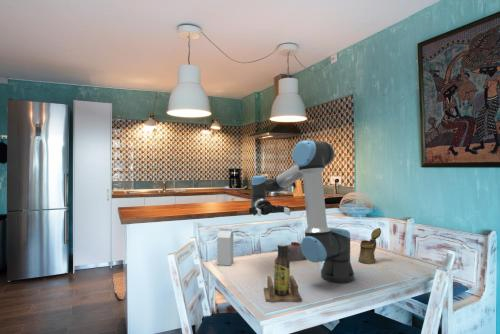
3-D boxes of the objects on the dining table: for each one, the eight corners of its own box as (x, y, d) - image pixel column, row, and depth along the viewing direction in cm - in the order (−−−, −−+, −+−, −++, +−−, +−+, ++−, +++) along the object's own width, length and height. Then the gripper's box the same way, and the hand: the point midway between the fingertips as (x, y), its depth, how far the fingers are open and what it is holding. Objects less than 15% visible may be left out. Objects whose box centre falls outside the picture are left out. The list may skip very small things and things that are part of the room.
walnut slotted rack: (296, 289, 137) (296, 275, 137) (301, 301, 125) (301, 285, 125) (263, 290, 137) (263, 275, 137) (266, 301, 125) (266, 286, 125)
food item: (300, 256, 189) (300, 239, 189) (309, 259, 182) (309, 242, 182) (281, 259, 182) (281, 242, 182) (289, 263, 175) (289, 245, 175)
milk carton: (230, 266, 170) (230, 230, 170) (217, 265, 171) (217, 229, 171) (233, 262, 177) (233, 227, 177) (221, 261, 178) (220, 227, 178)
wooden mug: (385, 262, 176) (385, 229, 176) (365, 264, 171) (365, 231, 171) (374, 257, 184) (374, 226, 184) (354, 260, 179) (354, 228, 179)
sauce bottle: (270, 293, 131) (270, 244, 131) (280, 288, 135) (280, 241, 135) (283, 297, 126) (283, 246, 126) (292, 292, 131) (292, 244, 131)
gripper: (286, 213, 167) (301, 219, 146) (239, 214, 162) (247, 222, 141) (286, 198, 167) (301, 203, 146) (239, 200, 162) (247, 205, 141)
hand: (274, 212), depth 144 cm, fingers open, 13 cm apart
